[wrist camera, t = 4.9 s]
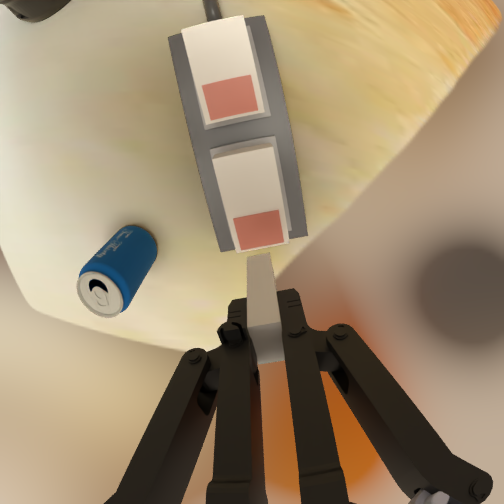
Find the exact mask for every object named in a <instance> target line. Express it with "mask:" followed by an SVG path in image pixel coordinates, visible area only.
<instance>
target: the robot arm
mask: <svg viewBox="0 0 504 504" xmlns="http://www.w3.org/2000/svg"><path fill="white" fill-rule="evenodd" d="M69 1H70V0H0V4H4V5H5V6H6V7H7V8H8V9H9V10H10V11H11V12H12V13H13V14H14V15H15V16H16V17H17V18H19V19H20V20H23V21H27V22H32V23H33V22H39V21H42V20H44V19H46V18H48V17H50V16H51V15H53V14H54V13H56V12H57V11H58V10H60V9H61V8H62V7H63V6H64V5H66V4H67V3H68V2H69ZM217 333H218V336H219V338H220V341H221V343H222V345H221V346H219V347H218V348H216V349H213V350H211V351H208V352H206V351H205V350H204V349H201V348H193V349H191V350H189V351H187V352H186V353H185V354H184V355H183V356H182V358H181V360H180V362H179V364H178V366H177V368H176V370H175V372H174V374H173V376H172V378H171V380H170V382H169V384H168V386H167V388H166V390H165V392H164V394H163V396H162V398H161V400H160V402H159V404H158V406H157V408H156V410H155V412H154V414H153V416H152V418H151V420H150V422H149V424H148V427H147V429H146V431H145V433H144V435H143V437H142V439H141V441H140V443H139V445H138V447H137V449H136V451H135V453H134V455H133V457H132V460H131V461H130V464H129V466H128V468H127V470H126V472H125V474H124V476H123V478H122V481H121V483H120V485H119V487H118V489H117V491H116V493H115V494H114V495H112V497H110V498H109V499H108V500H107V501H106V502H105V503H104V504H181V502H182V499H183V497H184V494H185V491H186V488H187V486H188V484H189V481H190V478H191V475H192V473H193V470H194V467H195V465H196V462H197V459H198V457H199V454H200V451H201V449H202V446H203V443H204V440H205V438H206V435H207V432H208V429H209V427H210V424H211V421H212V418H213V415H214V412H215V410H216V407H217V414H216V431H215V446H214V464H213V479H212V481H211V482H210V483H209V484H208V486H207V491H206V504H268V499H267V495H266V490H265V475H264V474H265V473H264V453H263V435H262V434H263V433H262V415H261V394H260V376H259V370H258V367H257V361H258V364H263V363H270V362H277V361H282V360H285V363H286V371H287V379H288V387H289V394H290V402H291V410H292V418H293V426H294V435H295V443H296V452H297V460H298V469H299V485H300V494H301V504H355V503H352V502H349V499H348V494H347V488H346V483H345V477H344V473H343V470H342V468H341V466H340V462H339V457H338V452H337V447H336V442H335V437H334V432H333V427H332V423H331V418H330V413H329V409H328V405H327V400H326V395H325V391H324V387H323V383H322V378H321V374H320V371H327V372H328V374H329V375H330V377H331V378H332V380H333V382H334V383H335V385H336V386H337V388H338V390H339V391H340V393H341V395H342V396H343V398H344V399H345V401H346V403H347V404H348V406H349V407H350V409H351V411H352V412H353V414H354V416H355V417H356V418H357V420H358V422H359V424H360V425H361V427H362V428H363V430H364V432H365V433H366V435H367V436H368V438H369V440H370V441H371V443H372V445H373V446H374V448H375V449H376V451H377V453H378V454H379V456H380V458H381V459H382V461H383V462H384V464H385V465H386V467H387V469H388V470H389V472H390V474H391V475H392V477H393V478H394V480H395V482H396V483H397V485H398V486H399V487H400V488H401V490H402V491H403V492H404V493H405V494H406V495H407V496H408V497H409V498H410V499H411V501H410V502H409V503H408V504H480V503H482V502H483V501H485V500H486V498H487V497H488V496H489V495H490V493H491V490H492V487H493V480H492V477H491V476H490V475H489V474H488V473H487V472H485V471H483V470H481V469H479V468H477V467H475V466H473V465H471V464H470V463H468V462H466V461H464V460H462V459H461V458H459V457H457V456H455V455H453V454H452V453H451V451H450V450H449V449H448V447H447V446H446V445H445V443H444V442H443V441H442V439H441V438H440V437H439V435H438V434H437V433H436V431H435V430H434V429H433V427H432V426H431V425H430V424H429V422H428V421H427V420H426V418H425V417H424V416H423V414H422V413H421V412H420V411H419V409H418V408H417V407H416V405H415V404H414V403H413V402H412V400H411V399H410V398H409V397H408V395H407V394H406V393H405V391H404V390H403V389H402V388H401V386H400V385H399V384H398V383H397V381H396V380H395V379H394V378H393V376H392V375H391V374H390V373H389V372H388V370H387V369H386V368H385V367H384V366H383V364H382V363H381V362H380V360H379V359H378V358H377V357H376V355H375V354H374V353H373V352H372V351H371V349H369V347H368V346H367V345H366V343H365V342H364V341H363V340H362V339H361V337H360V336H359V335H358V334H357V332H356V331H355V330H354V329H353V328H352V327H351V326H349V325H347V324H336V325H333V326H331V327H330V328H329V329H328V330H327V331H317V330H314V329H312V328H310V327H309V326H308V325H307V322H306V319H305V315H304V311H303V307H302V303H301V300H300V296H299V293H298V292H297V291H296V290H295V289H294V288H293V289H288V290H282V291H277V288H276V282H275V277H274V272H273V267H272V262H271V257H270V253H265V254H260V255H254V256H249V257H247V298H241V299H235V300H232V301H231V303H230V305H229V306H228V319H227V322H225V323H224V324H222V325H221V326H220V327H219V328H218V331H217Z"/></svg>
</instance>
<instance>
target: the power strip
mask: <svg viewBox="0 0 504 504" xmlns="http://www.w3.org/2000/svg"><path fill="white" fill-rule="evenodd" d="M203 4H204V8H205V13H206V17H207V21H208V22H210V21H215V20H219V19H222V16H221V12H220V8H219V4H218V0H203ZM244 20H245V25H246V29H247V33H248V37H249V41H250V46H251V50H252V54H253V59H254V63H255V68H256V72H257V77H258V81H259V86H260V91H261V96H262V101H263V106H264V110H265V112H264V113H258V114H253V115H248V116H243V117H238V118H233V119H229V120H224V121H220V122H216V123H212V124H208V125H206V123H205V119H204V116H203V112H202V108H201V104H200V101H199V97H198V93H197V89H196V86H195V82H194V78H193V74H192V70H191V67H190V63H189V59H188V55H187V51H186V47H185V43H184V40H183V36H182V33H180V34H176V35H173V36H170V37H168V41H169V45H170V50H171V55H172V60H173V64H174V69H175V74H176V78H177V83H178V87H179V92H180V96H181V100H182V105H183V109H184V113H185V117H186V122H187V126H188V130H189V134H190V138H191V142H192V146H193V150H194V154H195V158H196V162H197V166H198V170H199V174H200V178H201V182H202V186H203V189H204V193H205V197H206V201H207V204H208V208H209V212H210V216H211V219H212V223H213V227H214V230H215V234H216V237H217V241H218V244H219V248H220V252H225V251H230V250H235V246H234V242H233V238H232V234H231V231H230V227H229V223H228V219H227V216H226V212H225V208H224V204H223V201H222V197H221V193H220V189H219V185H218V181H217V178H216V174H215V170H214V166H213V162H212V158H213V157H214V155H215V154H218V153H222V152H226V151H231V150H236V149H240V148H245V147H250V146H255V145H260V144H266V143H271V144H272V146H273V149H274V154H275V160H276V165H277V170H278V176H279V181H280V187H281V193H282V199H283V204H284V210H285V216H286V223H287V229H288V235H289V239H293V238H298V237H304V236H308V232H307V225H306V218H305V210H304V204H303V197H302V190H301V184H300V178H299V172H298V166H297V160H296V154H295V149H294V143H293V138H292V132H291V127H290V122H289V117H288V112H287V107H286V103H285V98H284V93H283V89H282V84H281V80H280V75H279V71H278V67H277V63H276V59H275V55H274V51H273V47H272V43H271V39H270V35H269V31H268V28H267V24H266V20H265V17H264V15H263V16H256V17H249V18H244Z"/></svg>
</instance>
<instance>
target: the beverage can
mask: <svg viewBox="0 0 504 504" xmlns="http://www.w3.org/2000/svg"><path fill="white" fill-rule="evenodd" d="M156 256H157V247H156V243H155V241H154V239H153V238H152V236H151V235H150V234H149V233H148V232H147V231H146V230H144V229H142V228H140V227H137V226H126V227H124V228H122V229H120V230H119V231H118V232H117V233H116V234H115V235H114V236H113V237H112V238H111V239H110V240H109V241H108V242H107V243H106V244H105V245H104V246H103V247H102V248H101V249H100V250H99V251H98V252H97V253H96V254H95V255H94V256H93V257H92V258H91V259H90V260H89V261H88V262H87V264H86V265H85V266H84V267H83V268H82V269H81V271H80V274H79V279H78V281H77V292H78V295H79V298H80V300H81V301H82V303H83V304H84V305H85V306H86V308H88V309H89V310H90V311H91V312H93V313H94V314H96V315H98V316H101V317H105V318H112V317H115V316H117V315H118V314H119V313H121V312H123V311H124V310H126V309H127V307H128V306H129V304H130V303H131V301H132V299H133V297H134V295H135V294H136V292H137V290H138V288H139V287H140V285H141V283H142V281H143V280H144V278H145V276H146V275H147V273H148V271H149V269H150V268H151V266H152V264H153V263H154V261H155V259H156Z"/></svg>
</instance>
